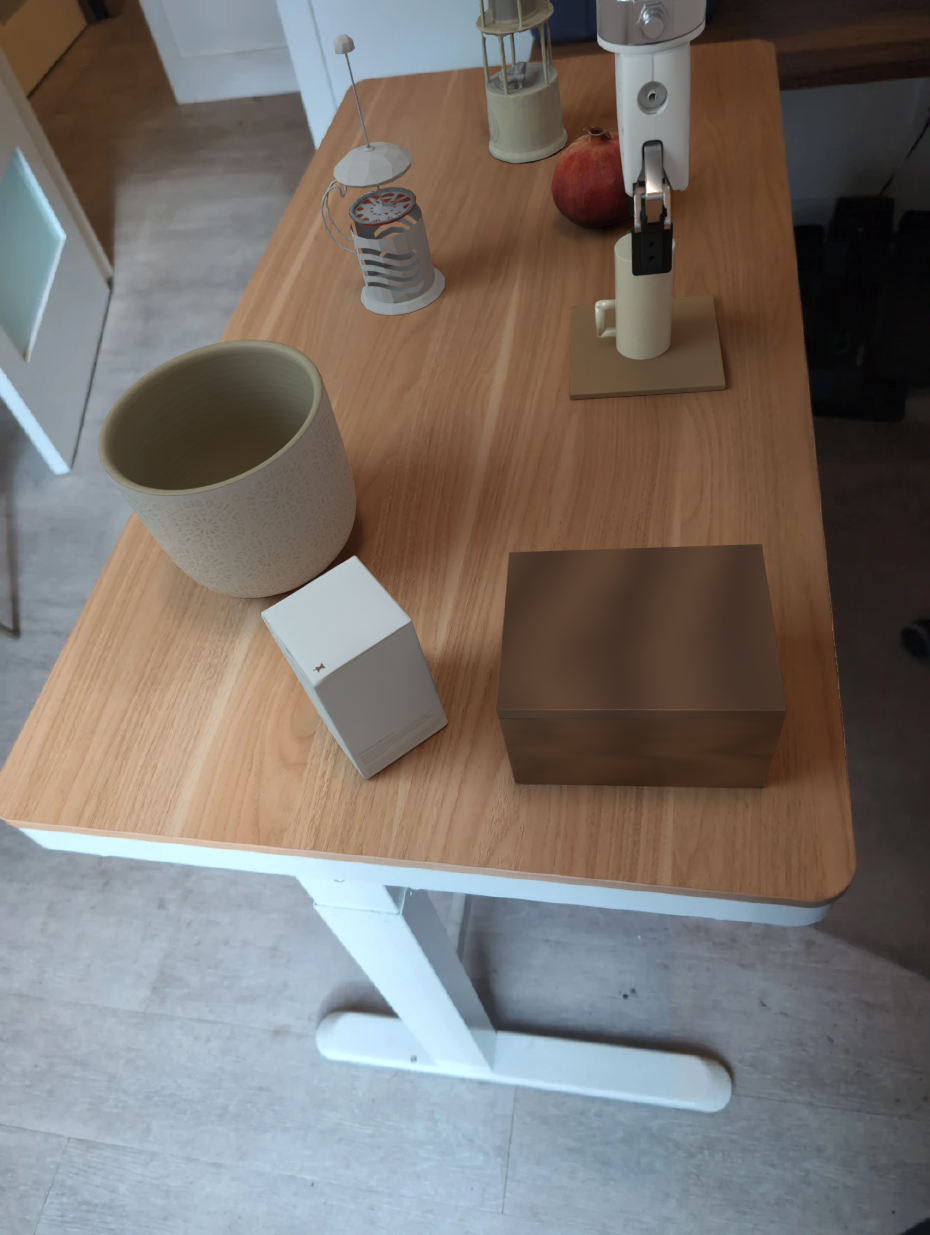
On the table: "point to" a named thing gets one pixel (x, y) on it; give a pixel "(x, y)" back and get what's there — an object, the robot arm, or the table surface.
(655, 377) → the mat
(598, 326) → the cream mug
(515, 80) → the lamp
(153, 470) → the planter
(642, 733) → the brown lidded box
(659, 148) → the robot arm
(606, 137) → the fruit
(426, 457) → the table surface
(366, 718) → the white packaging box
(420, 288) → the french press
